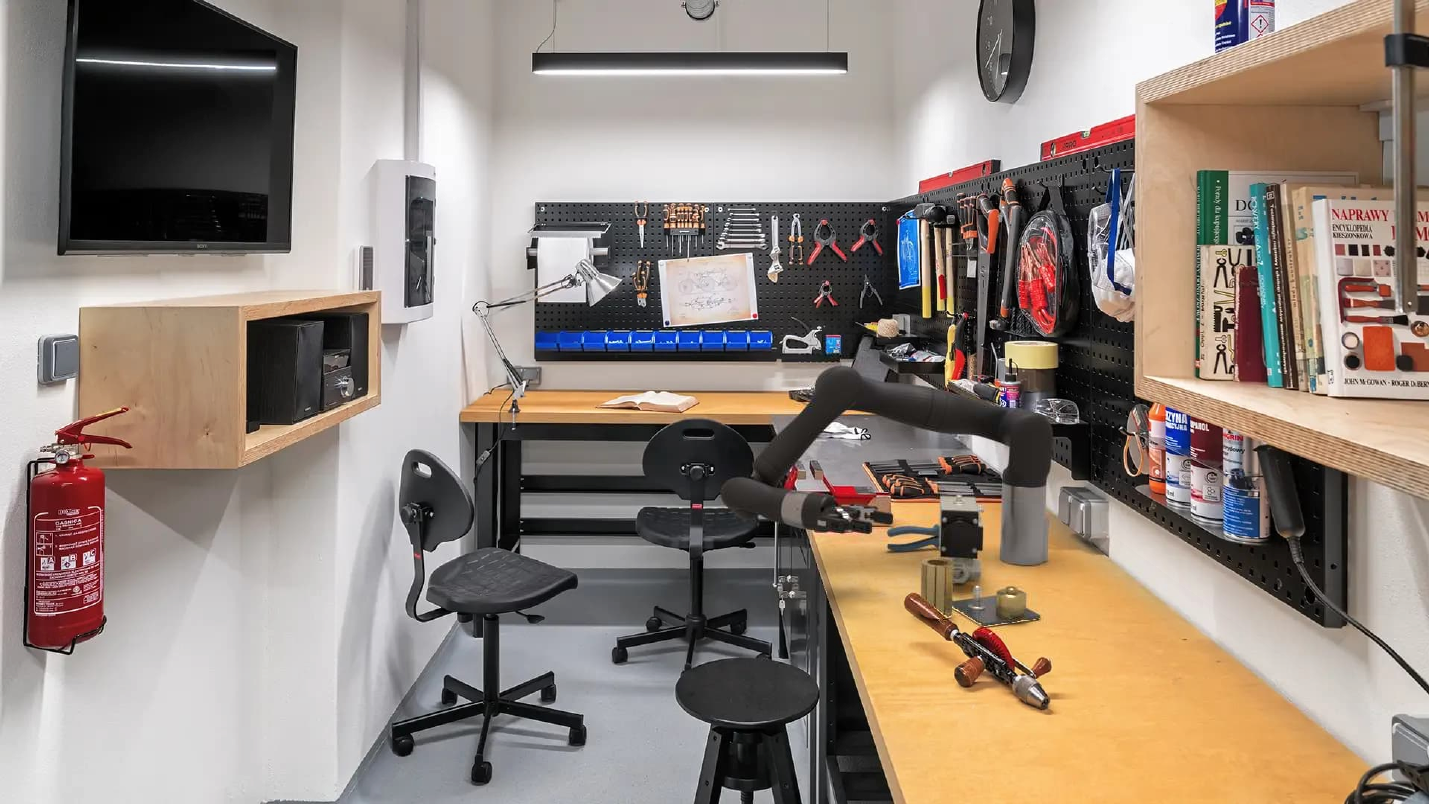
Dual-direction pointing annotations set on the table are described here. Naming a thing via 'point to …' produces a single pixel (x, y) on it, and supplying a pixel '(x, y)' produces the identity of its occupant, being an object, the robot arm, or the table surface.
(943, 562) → the brass grooved sleeve
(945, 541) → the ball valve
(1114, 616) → the table surface
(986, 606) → the carrier plate
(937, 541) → the pliers
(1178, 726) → the table surface
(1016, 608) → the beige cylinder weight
